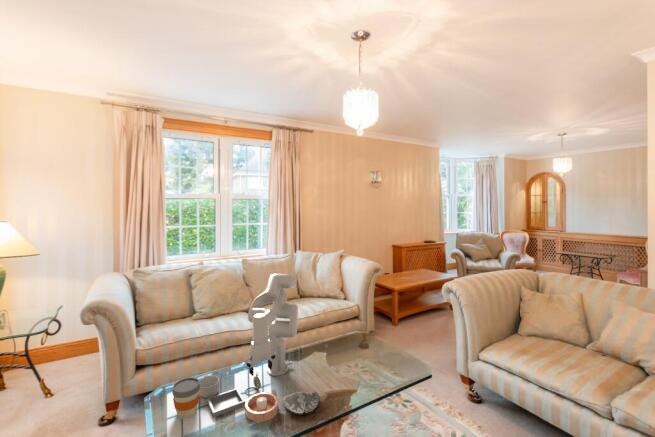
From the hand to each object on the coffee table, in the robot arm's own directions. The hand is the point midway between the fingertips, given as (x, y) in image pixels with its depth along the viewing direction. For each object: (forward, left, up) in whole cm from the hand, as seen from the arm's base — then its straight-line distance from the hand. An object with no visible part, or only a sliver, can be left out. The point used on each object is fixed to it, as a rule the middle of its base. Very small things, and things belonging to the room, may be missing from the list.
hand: (260, 371), depth 161 cm
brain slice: (-19, +9, -21) cm, 30 cm away
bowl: (0, +1, -21) cm, 21 cm away
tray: (+14, -13, -21) cm, 28 cm away
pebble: (0, +1, -20) cm, 20 cm away
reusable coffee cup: (+32, -17, -21) cm, 42 cm away
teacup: (+19, -28, -21) cm, 40 cm away
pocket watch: (-2, -16, -21) cm, 26 cm away
